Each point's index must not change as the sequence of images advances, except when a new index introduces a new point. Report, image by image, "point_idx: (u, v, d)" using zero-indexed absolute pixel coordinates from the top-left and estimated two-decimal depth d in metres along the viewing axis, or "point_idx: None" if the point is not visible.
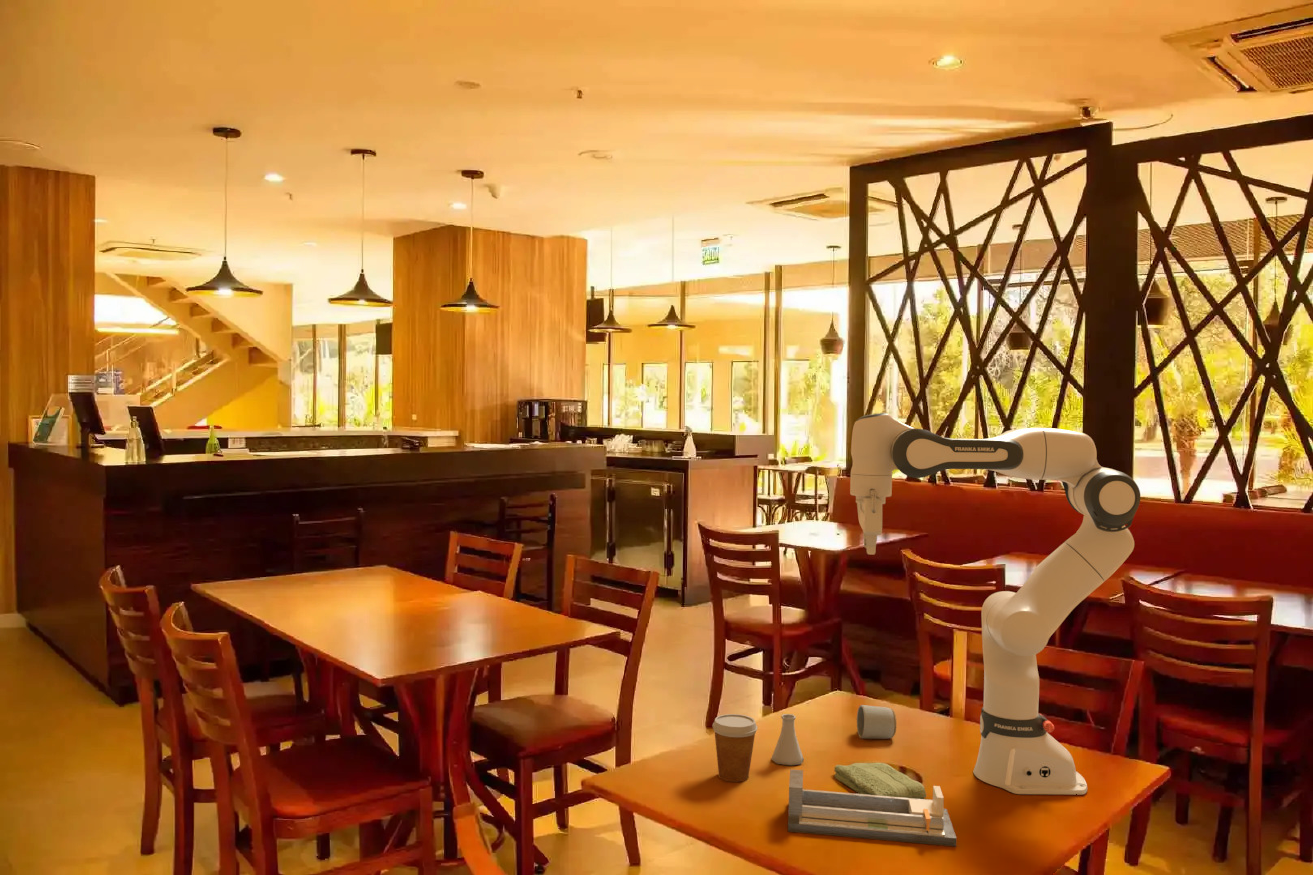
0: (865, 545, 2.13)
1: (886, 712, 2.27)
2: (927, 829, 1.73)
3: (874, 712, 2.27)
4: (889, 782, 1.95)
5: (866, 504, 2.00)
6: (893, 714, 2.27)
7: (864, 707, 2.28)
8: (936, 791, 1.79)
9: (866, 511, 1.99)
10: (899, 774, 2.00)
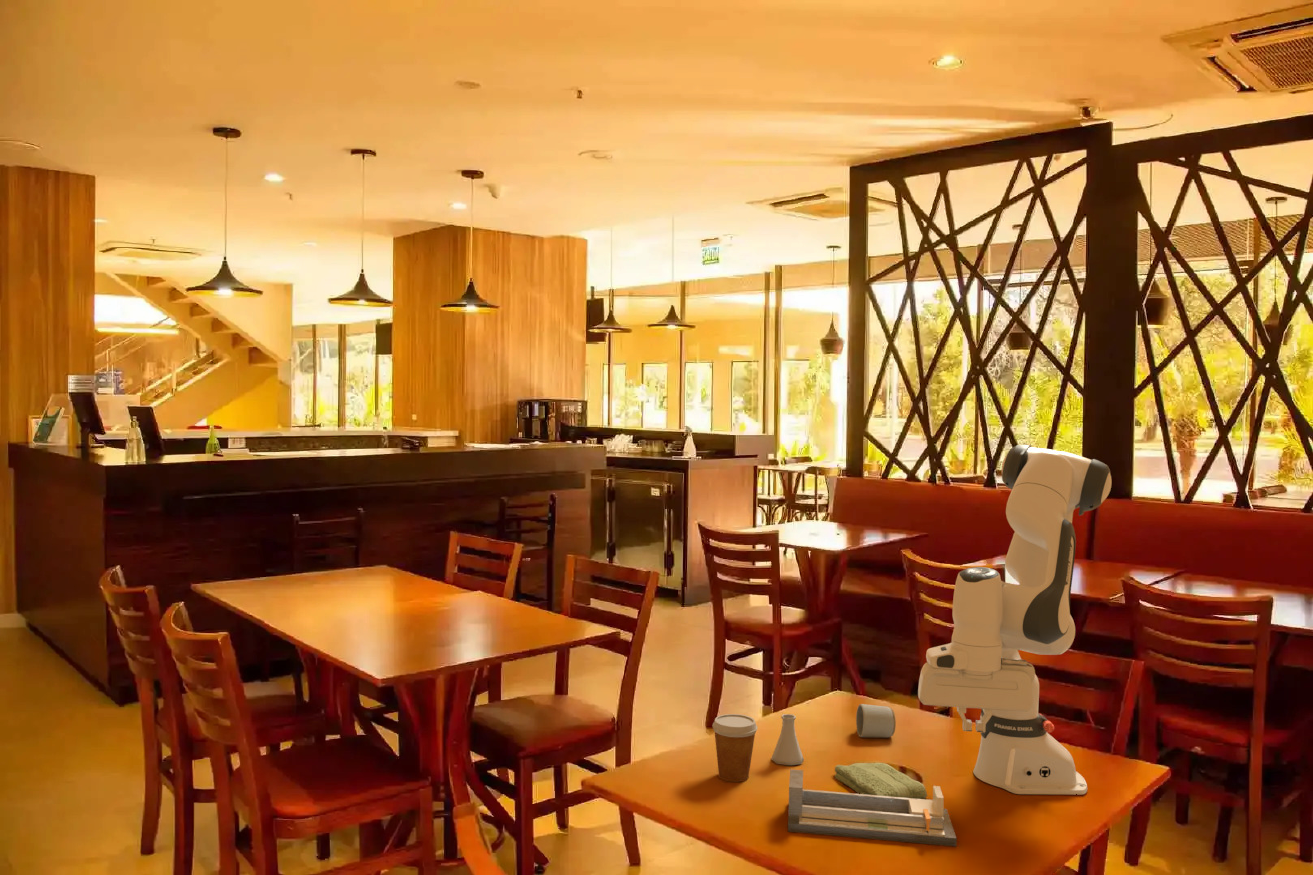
0: (971, 728, 1.77)
1: (886, 711, 2.28)
2: (927, 829, 1.73)
3: (873, 711, 2.28)
4: (890, 782, 1.95)
5: (1029, 677, 1.74)
6: (892, 713, 2.28)
7: (863, 706, 2.29)
8: (936, 791, 1.79)
9: (1031, 685, 1.74)
10: (900, 774, 2.00)
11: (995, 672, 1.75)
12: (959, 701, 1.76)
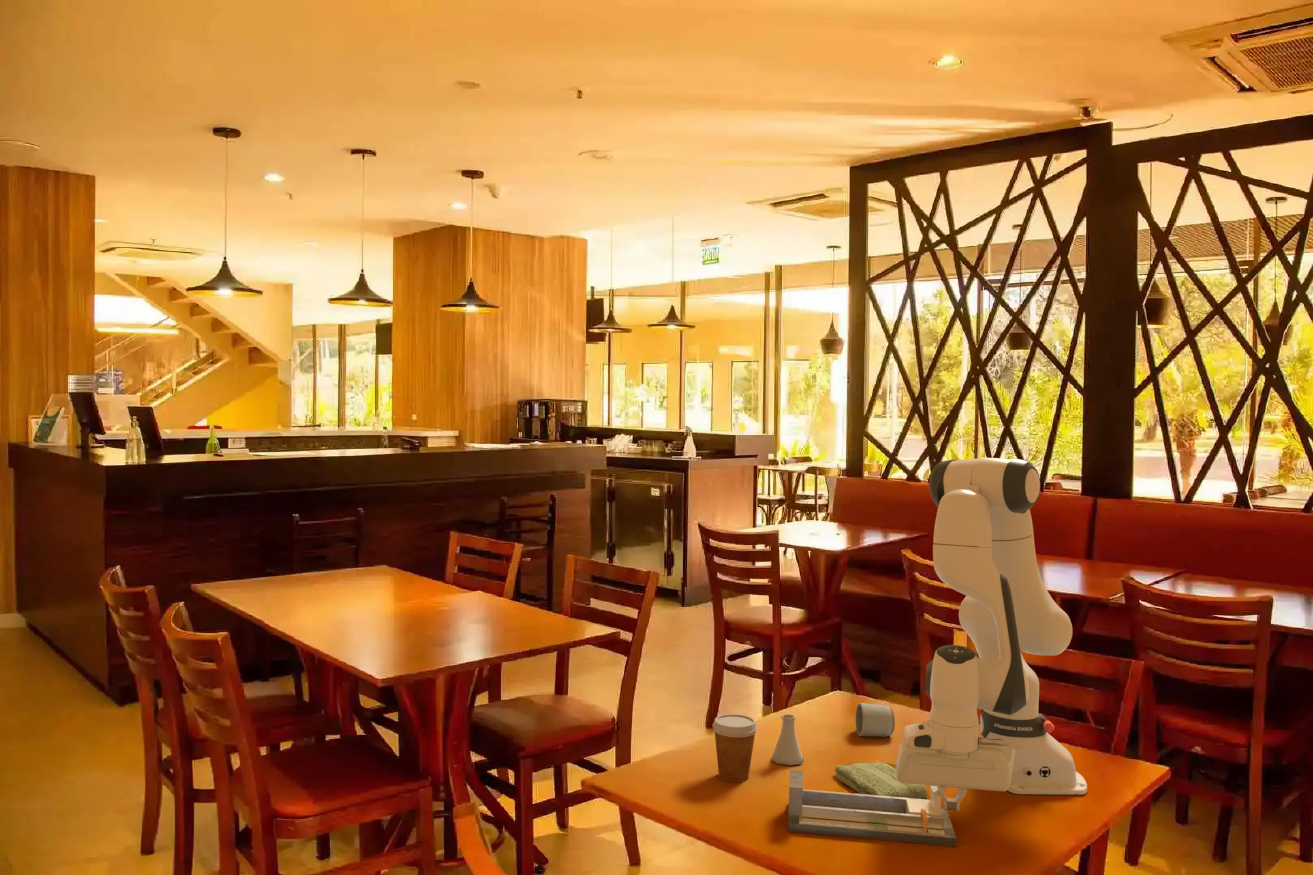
0: (951, 807, 1.78)
1: (885, 710, 2.29)
2: (924, 829, 1.73)
3: (872, 710, 2.29)
4: (890, 782, 1.95)
5: (1005, 757, 1.75)
6: (891, 712, 2.29)
7: (863, 705, 2.30)
8: (933, 791, 1.79)
9: (1008, 765, 1.75)
10: None
11: (972, 752, 1.76)
12: (936, 780, 1.77)
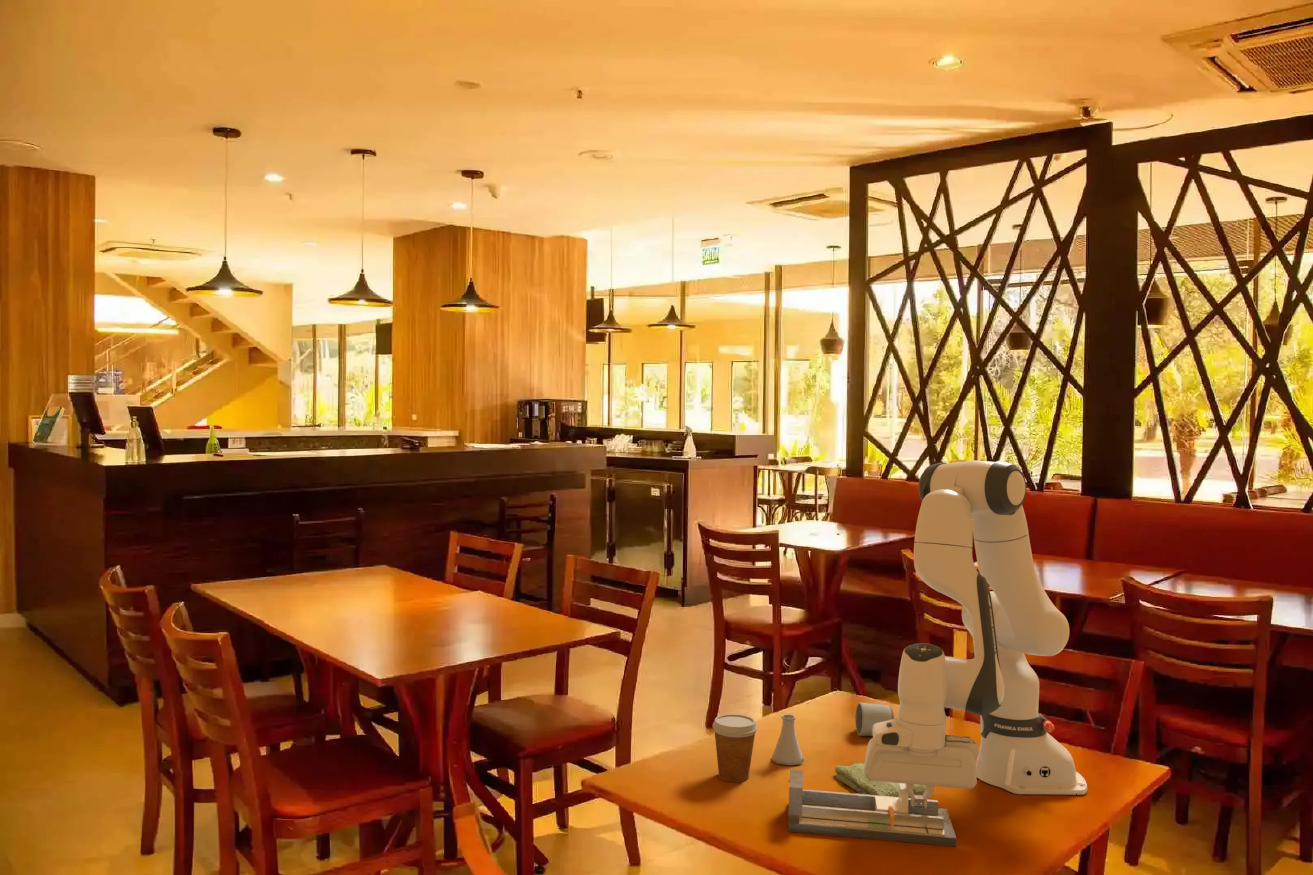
0: None
1: (885, 710, 2.29)
2: (891, 826, 1.74)
3: (872, 710, 2.29)
4: (891, 782, 1.95)
5: (972, 754, 1.76)
6: (891, 712, 2.29)
7: (862, 705, 2.30)
8: (901, 788, 1.80)
9: (974, 762, 1.76)
10: None
11: (939, 749, 1.77)
12: (904, 777, 1.78)
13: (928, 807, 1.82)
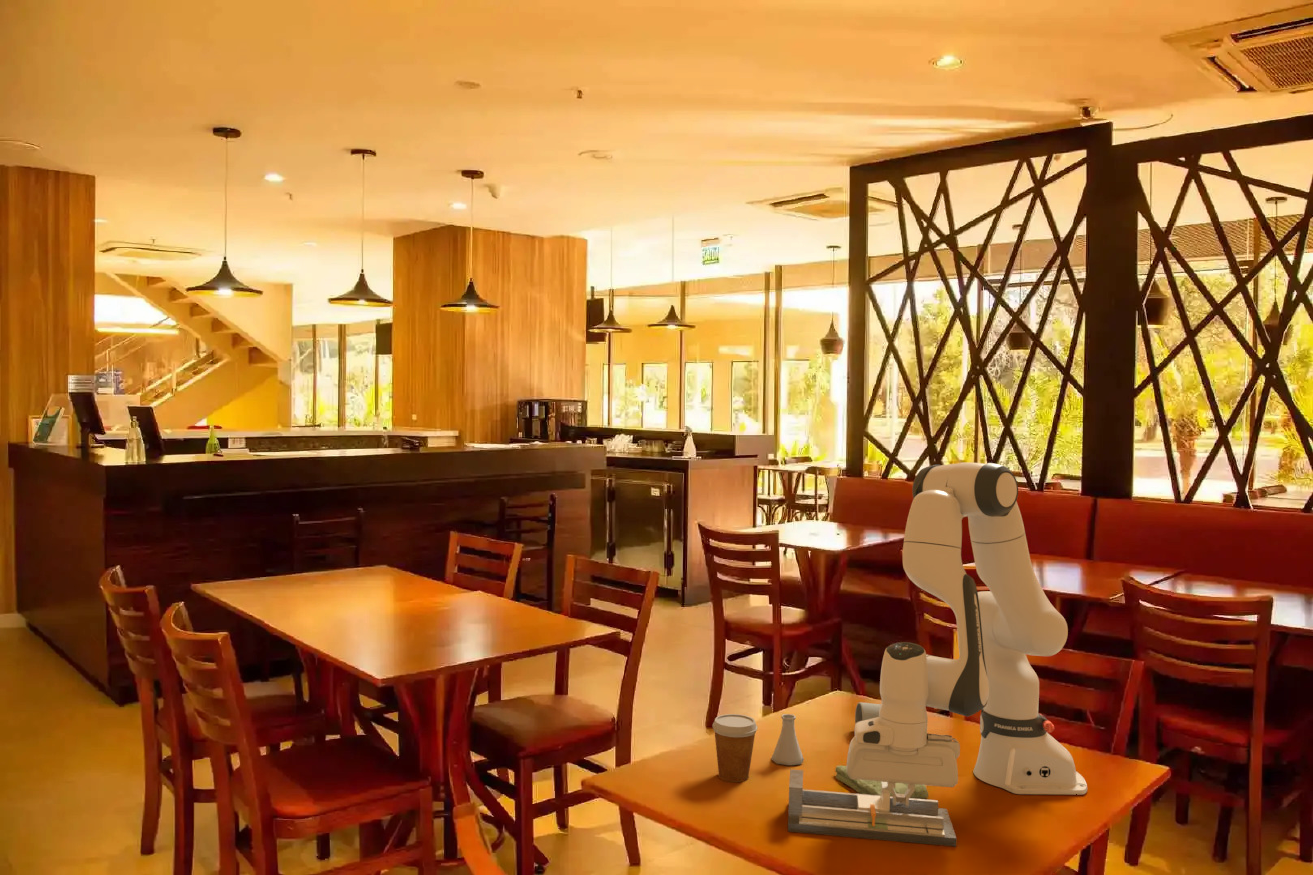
0: None
1: None
2: (872, 824, 1.75)
3: (872, 709, 2.29)
4: None
5: (954, 753, 1.77)
6: None
7: (862, 704, 2.30)
8: (883, 787, 1.80)
9: None
10: None
11: (920, 748, 1.77)
12: (885, 776, 1.78)
13: (928, 807, 1.82)
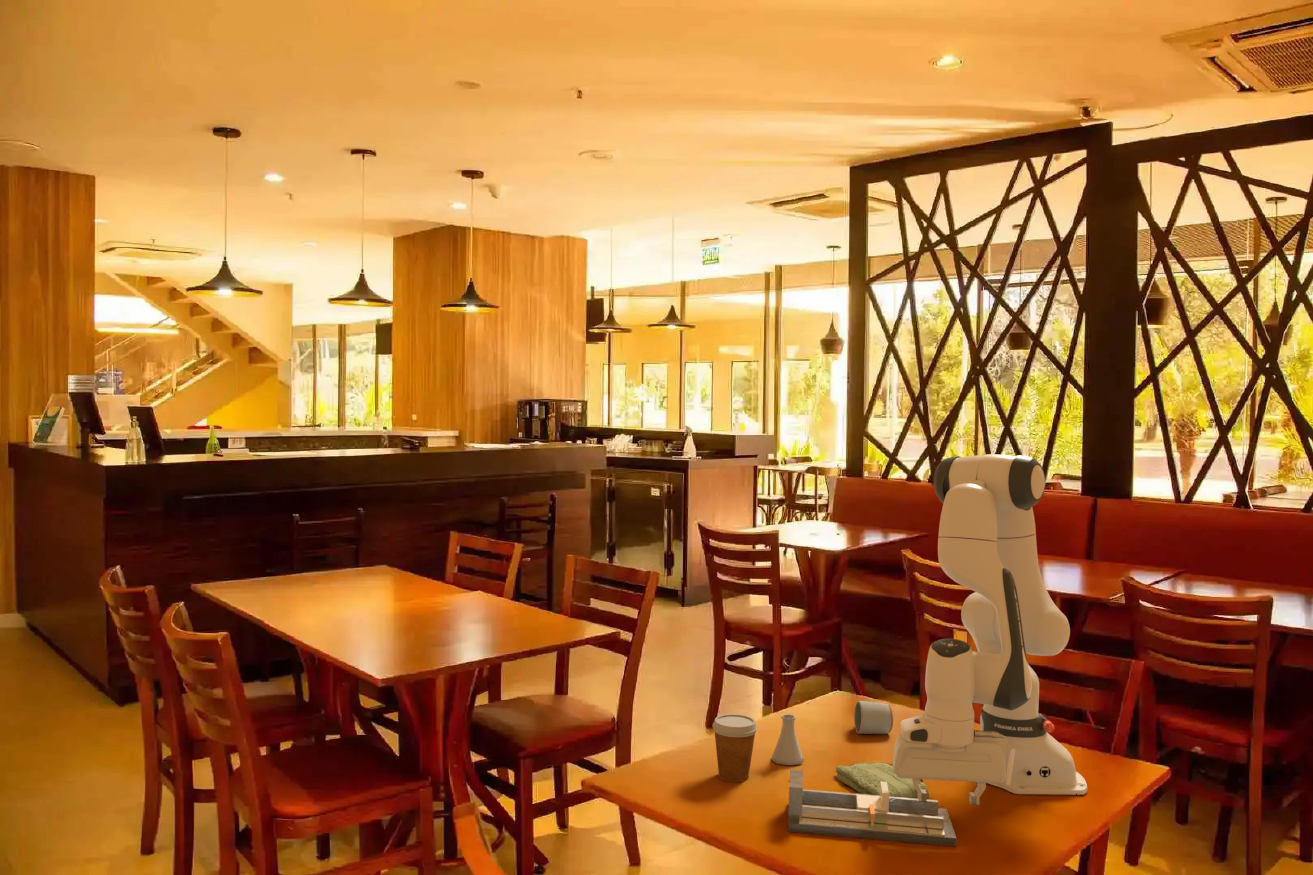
0: None
1: (883, 708, 2.31)
2: (872, 824, 1.75)
3: (871, 708, 2.30)
4: (892, 782, 1.95)
5: (1001, 749, 1.76)
6: (890, 710, 2.31)
7: (861, 703, 2.31)
8: (882, 787, 1.80)
9: (1004, 757, 1.76)
10: None
11: (968, 745, 1.76)
12: (933, 774, 1.77)
13: (928, 807, 1.82)
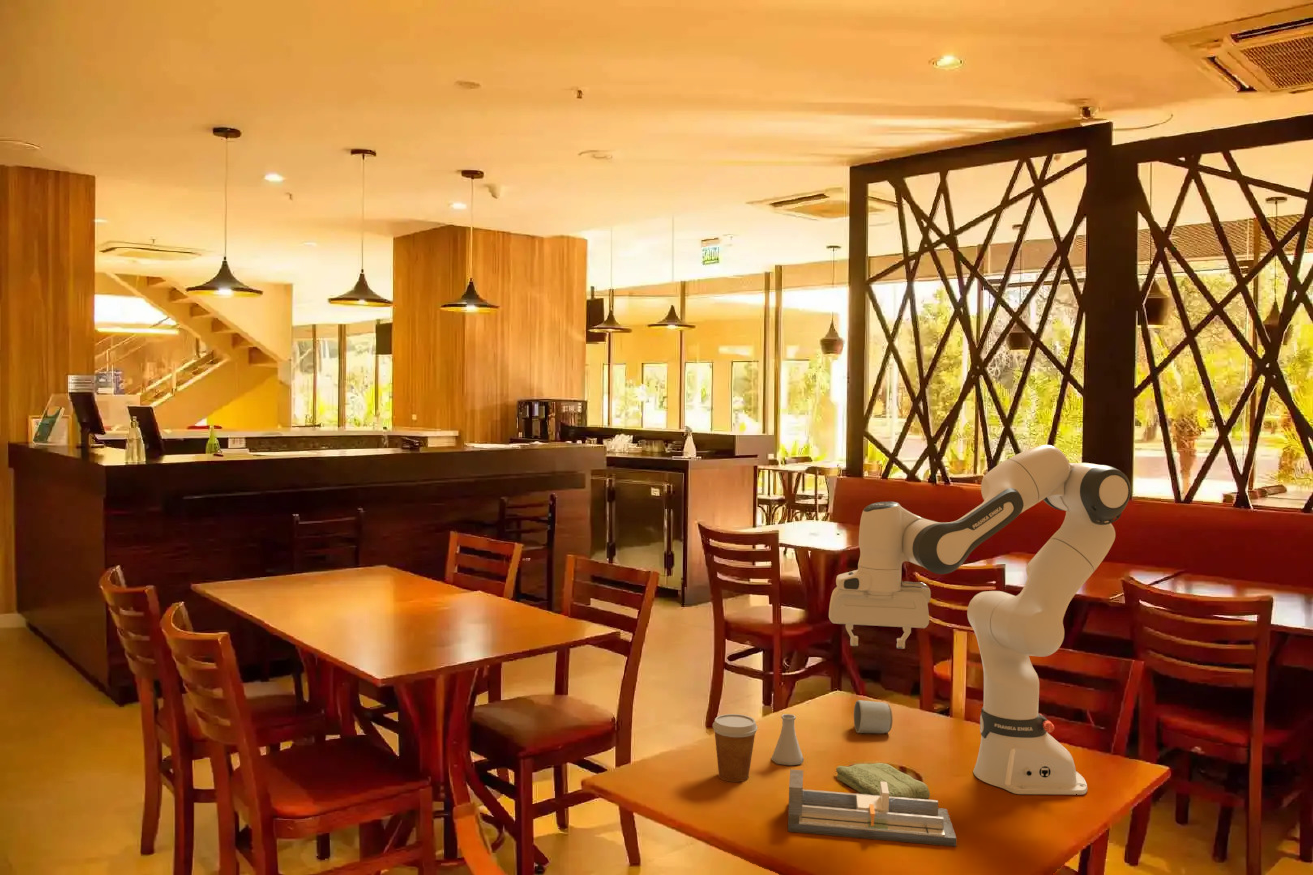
0: (857, 643, 1.99)
1: (883, 707, 2.31)
2: (872, 824, 1.75)
3: (870, 707, 2.31)
4: (893, 782, 1.95)
5: (925, 597, 1.96)
6: (889, 709, 2.31)
7: (861, 702, 2.32)
8: (882, 787, 1.80)
9: (927, 604, 1.96)
10: (901, 774, 2.00)
11: (895, 593, 1.96)
12: (864, 619, 1.97)
13: (928, 807, 1.82)
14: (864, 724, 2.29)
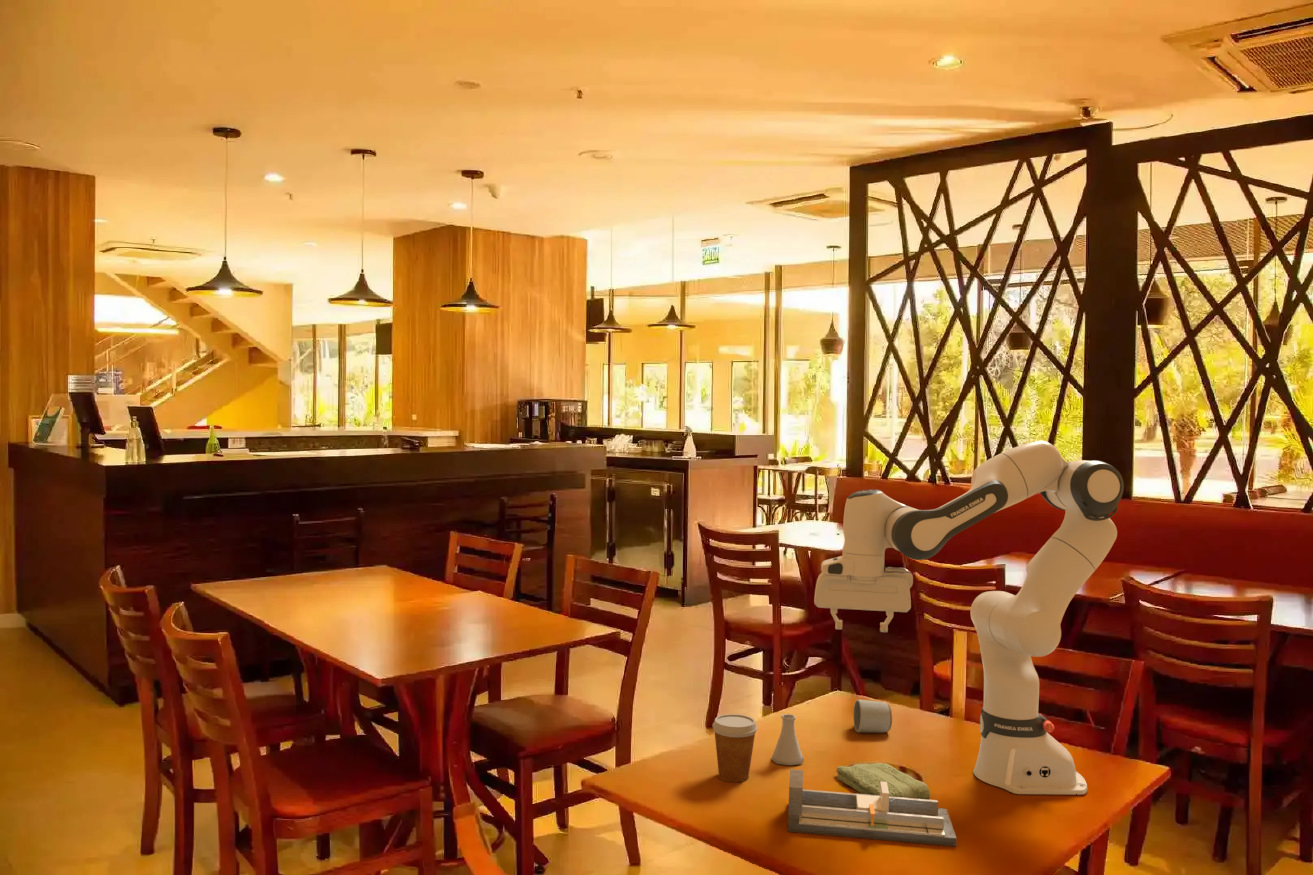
0: None
1: (882, 707, 2.32)
2: (872, 824, 1.75)
3: (870, 706, 2.31)
4: (893, 782, 1.95)
5: (907, 582, 2.02)
6: (889, 708, 2.32)
7: (860, 702, 2.32)
8: (882, 787, 1.80)
9: (909, 589, 2.02)
10: (902, 774, 2.00)
11: (878, 578, 2.02)
12: (848, 604, 2.03)
13: (928, 807, 1.82)
14: (864, 723, 2.30)
